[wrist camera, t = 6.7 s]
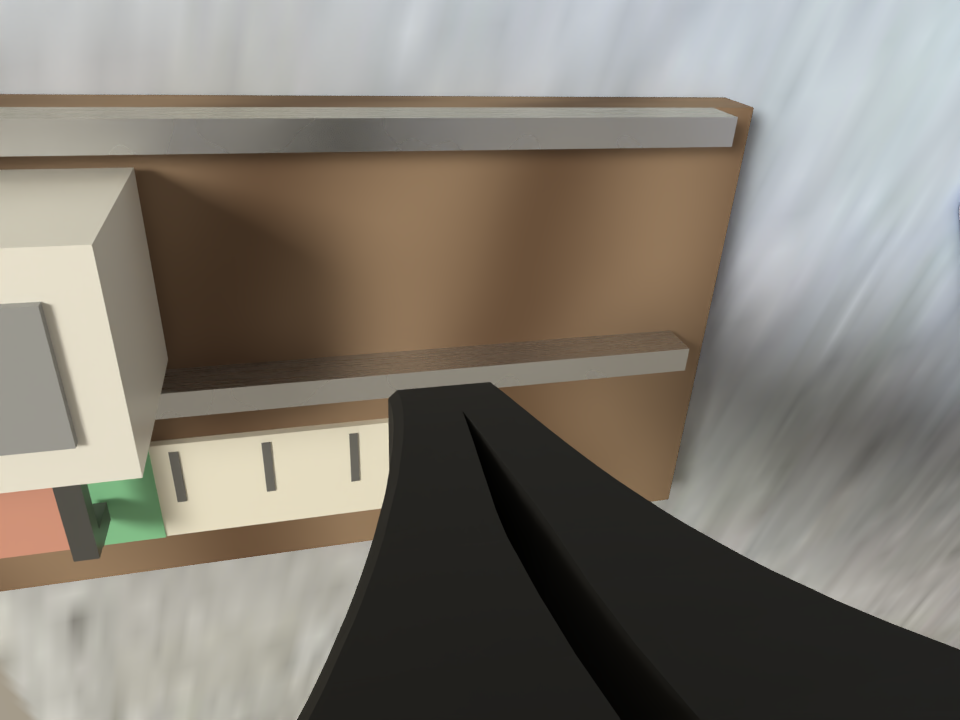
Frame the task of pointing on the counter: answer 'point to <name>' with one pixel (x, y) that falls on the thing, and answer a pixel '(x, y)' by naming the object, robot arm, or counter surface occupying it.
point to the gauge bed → (418, 282)
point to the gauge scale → (220, 486)
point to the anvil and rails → (375, 133)
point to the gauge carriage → (76, 340)
